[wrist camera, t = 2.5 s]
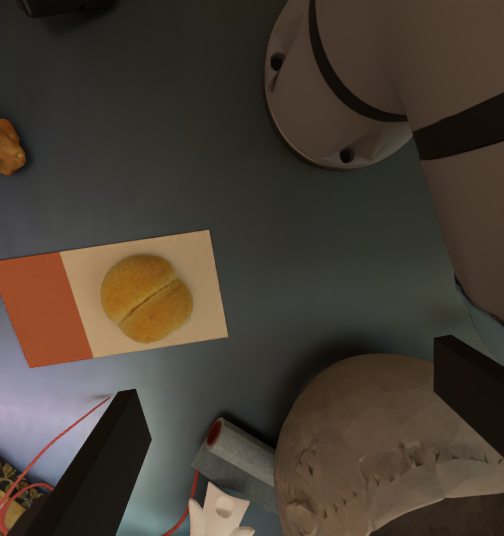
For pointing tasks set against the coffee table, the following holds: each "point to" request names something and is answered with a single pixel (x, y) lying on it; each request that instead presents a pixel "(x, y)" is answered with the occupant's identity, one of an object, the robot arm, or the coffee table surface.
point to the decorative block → (3, 479)
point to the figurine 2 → (218, 515)
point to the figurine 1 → (10, 149)
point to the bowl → (384, 457)
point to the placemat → (89, 299)
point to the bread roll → (146, 298)
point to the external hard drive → (58, 6)
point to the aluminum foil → (238, 463)
